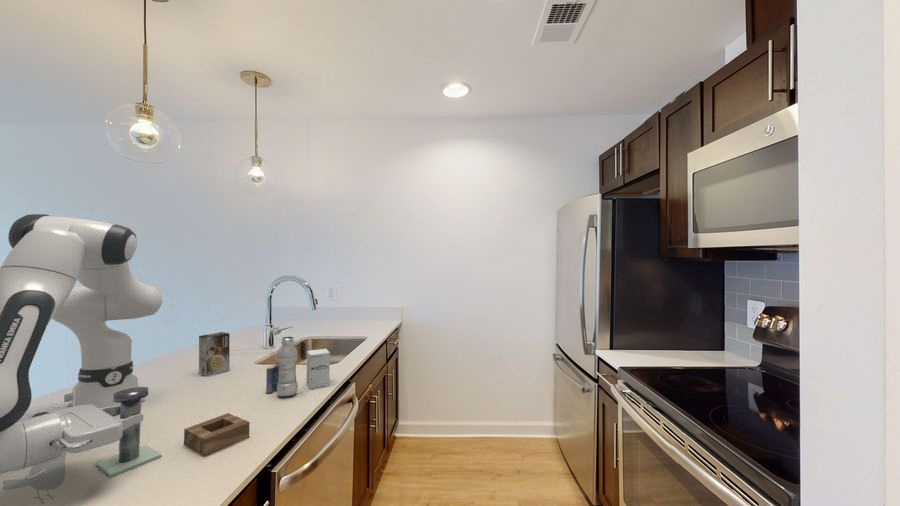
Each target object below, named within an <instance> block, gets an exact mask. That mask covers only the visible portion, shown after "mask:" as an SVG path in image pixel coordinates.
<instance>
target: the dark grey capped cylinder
mask: <svg viewBox="0 0 900 506" xmlns="http://www.w3.org/2000/svg"><path fill="white" fill-rule="evenodd" d="M147 396H149V387H148V386H147V387H146V386H139V387H135V388H129V389H125V390H121V391H118V392H116V393H115V394H114V395H113V402H117V403H121V410H120V414H119V415H120V416H119V417H120V418H119V420H120V419H126V418H128V417H131V415H133V414H137V413H141V411H142V402H141V398H144V397H145V398H146V397H147ZM141 414H142V413H141ZM140 438H141V422H140V423H137V424H134V425H132V426H130V427H129V428H127V429H125V430H123V436H122V438H121V439H120V440H118V441H119V444H118V454H119V462H120V463H124V462H129V461H132V460H134V459H136V458H138V457H139V447H140V444H141V443H140V440H141V439H140Z"/></svg>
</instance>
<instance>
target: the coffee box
mask: <svg viewBox="0 0 900 506" xmlns="http://www.w3.org/2000/svg"><path fill="white" fill-rule="evenodd" d="M225 371H226V372H229V371H230V333H229V332H223V331H221V332H215V333H209V334H202V335H198V375H199V374H201V375H200V376H202V375H204V376H203V377H205V376H208V377H210V375H211V376H214V375H213V374H215V375H218V373H219V374H222V373H226V372H225ZM221 372H222V373H221Z"/></svg>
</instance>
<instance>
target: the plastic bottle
mask: <svg viewBox="0 0 900 506" xmlns="http://www.w3.org/2000/svg"><path fill="white" fill-rule="evenodd" d="M294 341H295V340H294V336H283V337H281V346H280V347H279V349H278V350H277V353H276V359H277V361H278V366H279V377H278V384H277V391H276V394H277V395H278V396H279V397H281V398H286V397H291V396H294V395H295V394H296V393H297V391H298V387H299V386H298V381H297V371H296V369H297V368H296V367H297V360H298V349H297V348H296V346H295V345H294Z"/></svg>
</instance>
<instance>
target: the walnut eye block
mask: <svg viewBox="0 0 900 506" xmlns="http://www.w3.org/2000/svg"><path fill="white" fill-rule="evenodd" d="M250 423H251V422H250V421H248V420H246V419H243V418H242V417H239V416H236V415H234V414H231V413H230V412H227V413H225V414H222V415H219V416H217V417H213V418H211V419H208V420H205V421H202V422H200V423H198V424H194V425H192V426H189V427H186V428H184V431H183V432H184V433H183V434H184V435H183V438H184V439H183V445H184V446H185V447H187V448H189V449H190V450H192V451H194V452H196V453H197V454H199V455H201V456H203V457H208V456H209V455H212V454H214V453H216V452H219V451H221V450H223V449H225V448H227V447H230V446H233V445H234V444H237V443H239V442H241V441H243V440H246V439H249V438H250Z"/></svg>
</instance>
